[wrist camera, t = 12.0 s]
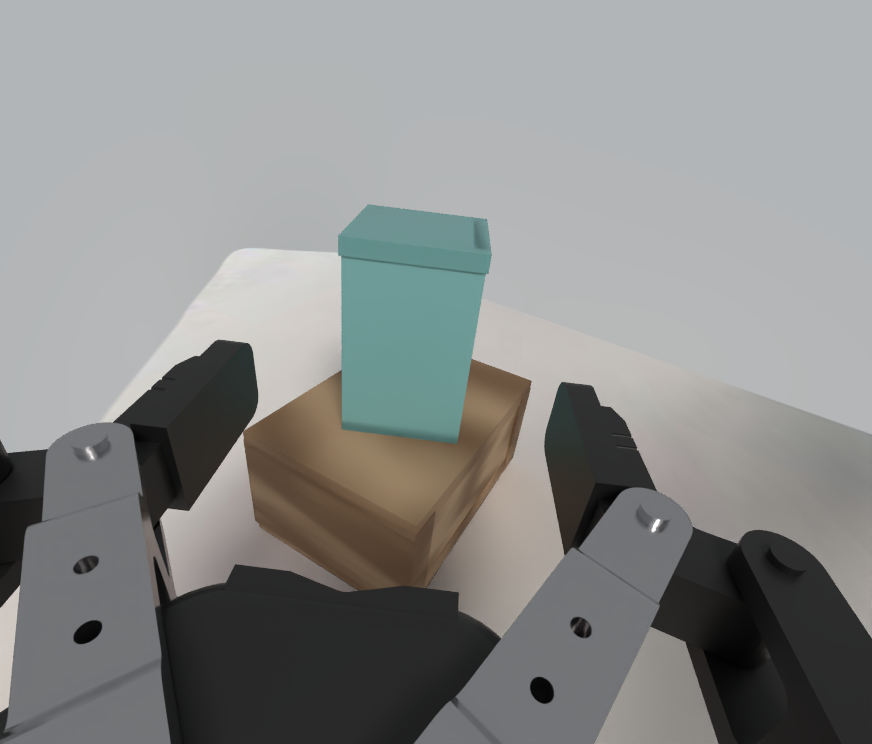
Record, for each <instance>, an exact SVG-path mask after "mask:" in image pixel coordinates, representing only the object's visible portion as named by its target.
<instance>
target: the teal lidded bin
mask: <svg viewBox="0 0 872 744" xmlns="http://www.w3.org/2000/svg"><path fill="white" fill-rule="evenodd" d="M338 246H339V247H338V255H339V256H341V280H342V430H350V431H358V432H366V433H374V434H382V435H390V436H398V437H406V438H414V439H422V440H430V441H438V442H446V443H454V444H457V441H458V436H459V430H460V424H461V418H462V412H463V406H464V400H465V394H466V388H467V382H468V376H469V370H470V364H471V358H472V352H473V346H474V340H475V334H476V328H477V322H478V316H479V310H480V304H481V298H482V292H483V286H484V280H485V275H486V274H488V273H489V266H490V261H491V247H490V239H489V231H488V223H487V219H480V218H473V217H464V216H456V215H448V214H440V213H432V212H424V211H416V210H408V209H399V208H391V207H384V206H376V205H367V206H366V207H365V208H364V209H363V210H362V211H361V213H360V214H359V215H358V216H357V217H356V218H355V219H354V220H353V221H352V222H351V223H350V224H349V225H348V226H347V227H346V228H345V229H344V230H343V231H342V233H341V234H340V235H339V236H338Z"/></svg>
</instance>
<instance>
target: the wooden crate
mask: <svg viewBox="0 0 872 744" xmlns="http://www.w3.org/2000/svg"><path fill="white" fill-rule="evenodd" d="M531 382H532V381H530V380H528V379H525V378H522V377H520V376H517V375H514V374H511V373H509V372H506V371H503V370H500V369H498V368H495V367H492V366H489V365H487V364H484V363H481V362H478V361H476V360H473V359H471V364H470V370H469V376H468V382H467V388H466V394H465V400H464V406H463V412H462V418H461V424H460V430H459V436H458V441H457V444H454V443H446V442H438V441H430V440H422V439H414V438H406V437H398V436H390V435H382V434H374V433H366V432H358V431H350V430H342V370H341V371H339V372H338V373H336V374H335V375H333V376H331V377H330V378H328V379H327V380H325V381H323V382H322V383H320V384H319V385H317V386H315V387H314V388H312V389H310V390H309V391H307V392H306V393H304V394H302V395H301V396H299V397H298V398H296V399H294V400H293V401H291V402H290V403H288V404H286V405H285V406H283V407H282V408H280V409H278V410H277V411H275V412H274V413H272V414H270V415H269V416H267V417H266V418H264V419H262V420H261V421H259V422H258V423H256V424H254V425H253V426H251V427H249V428H248V429H246V430H245V431H243V435H244V446H245V453H246V460H247V467H248V473H249V480H250V487H251V494H252V501H253V507H254V514H255V521H257V522H258V523H259V526H260V527H261V528H262V529H264V530H266V531H267V532H269V533H270V534H272V535H273V536H275V537H276V538H278V539H280V540H281V541H283V542H284V543H286V544H287V545H289V546H290V547H292V548H293V549H295V550H297V551H298V552H300V553H301V554H303V555H304V556H306V557H307V558H309V559H310V560H312V561H314V562H315V563H317V564H318V565H320V566H321V567H323V568H324V569H326V570H328V571H329V572H331V573H332V574H334V575H335V576H337V577H338V578H340V579H341V580H343V581H345V582H346V583H348V584H349V585H351V586H352V587H354V588H355V589H357V590H359V591H362V590H371V589H379V588H388V587H396V586H411V587H418V588H426V587H427V586H428V584H429V583H430V581H431V580H432V578H433V577H434V575H435V574H436V572H437V571H438V569H439V568H440V566H441V564H442V563H443V561H444V560H445V558H446V557H447V555H448V554H449V552H450V551H451V549H452V548H453V546H454V545H455V543H456V542H457V540H458V539H459V537H460V536H461V534H462V533H463V531H464V530H465V528H466V527H467V525H468V524H469V522H470V521H471V519H472V518H473V516H474V515H475V513H476V512H477V510H478V509H479V507H480V506H481V504H482V503H483V501H484V500H485V498H486V497H487V495H488V494H489V492H490V491H491V489H492V488H493V486H494V484H495V483H496V481H497V480H498V478H499V477H500V475H501V474H502V472H503V471H504V469H505V468H506V467H507V465H508V464H509V462H510V461H511V459H512V458H513V455H514V451H515V448H516V444H517V440H518V436H519V432H520V428H521V424H522V420H523V416H524V412H525V408H526V405H527V401H528V397H529V393H530V389H531V388H530V386H531Z"/></svg>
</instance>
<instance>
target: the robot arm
mask: <svg viewBox="0 0 872 744" xmlns="http://www.w3.org/2000/svg"><path fill="white" fill-rule="evenodd" d="M257 404H258V388H257V380H256V373H255V365H254V357H253V351H252V348H251V346H250V344H248V343H242V342H234V341H226V340H217V341H215V342H214V343H213V344H212V345H211V346H210V347H209V348H208V349H207V350H206V351H205V352H204V353H202V354H201V355H200V356H194V357H191V358H189V359H187V360H185V361H183V362H181V363H179V364H177V365H175V366H174V367H173V368H172V369H171V370H170V371H169V372H167V373H166V374H165V375H164V376H163V377H162V380H159V381H158V382H157V383H155V384H154V385H153V386H152V388H151V390H148V391H147V392H146V393H144V394H143V395H142V396H141V397H140V398H139V399H138V400H137V401H136V402H135V403H134V404H132V405H131V406H130V407H129V408H128V409H127V410H126V411H125V412H124V413H123V414H122V415H120V416H119V417H118V418H117V419H116V420H115V421H114V422H113V423H111V422H110V423H96V424H91V425H87V426H84V427H80V428H78V429H75V430H73V431H71V432H69V433H67V434H65V435H63V436H62V437H61V438H59V439H57V440H56V441H55V442H54V443H53V444H52V445H51V446H50V448H49V449H46V450H37V451H25V452H14V453H7V452H6V450H5V448H4V446H3V444H2V442H1V441H0V608H1V607H2V605H3V604H4V603H5V602H6V601H7V600H8V598H9V597H10V596H11V595H12V594H13V592H14V591H15V590H16V589H17V588H18V587H19V585H20V593H19V603H18V614H17V624H16V635H15V645H14V656H13V666H12V677H11V687H10V698H9V707H8V708H6V709H5V710H3V711H2V712H0V744H594V742H595V740H596V738H597V736H598V734H599V732H600V730H601V728H602V726H603V724H604V721H605V719H606V717H607V715H608V713H609V711H610V709H611V707H612V705H613V703H614V701H615V699H616V697H617V694H618V692H619V690H620V688H621V686H622V684H623V682H624V680H625V678H626V676H627V674H628V672H629V670H630V667H631V665H632V663H633V661H634V659H635V657H636V655H637V653H638V651H639V649H640V647H641V645H642V643H643V640H644V638H645V636H646V634H647V632H648V630H649V628H650V627H653V628H655V629H657V630H660V631H662V632H664V633H666V634H669V635H671V636H673V637H676V638H678V639H680V640H683V641H685V642H686V645H687V648H688V651H689V654H690V657H691V660H692V664H693V667H694V670H695V673H696V676H697V679H698V682H699V685H700V688H701V691H702V694H703V697H704V700H705V703H706V706H707V709H708V713H709V716H710V719H711V722H712V725H713V728H714V731H715V734H716V737H717V740H718V743H719V744H872V638H871V637H870V635H869V634H868V632H867V631H866V629H865V628H864V626H863V625H862V623H861V622H860V620H859V619H858V617H857V616H856V614H855V613H854V611H853V610H852V608H851V607H850V606H849V604H848V603H847V601H846V600H845V598H844V597H843V595H842V594H841V592H840V591H839V589H838V588H837V586H836V585H835V583H834V582H833V580H832V579H831V577H830V576H829V574H828V573H827V571H826V570H825V568H824V567H823V566H822V564H821V563H820V562H819V561H818V560H817V559H816V558H815V557H814V556H813V555H812V554H811V553H810V552H808V551H807V550H806V549H804V548H803V547H802V546H800V545H799V544H797V543H796V542H794V541H792V540H790V539H788V538H786V537H784V536H782V535H779V534H776V533H773V532H769V531H764V530H753V531H749V532H747V533H745V534H744V536H743V537H742V538H741V540H740V541H739V543H738V544H736V543H733V542H731V541H728V540H725V539H722V538H720V537H717V536H714V535H711V534H709V533H706V532H703V531H701V530H698V529H696V528H694V527H692V523H691V520H690V518H689V517H688V515H687V514H686V512H685V511H684V510H683V509H682V508H681V507H680V506H679V505H678V504H677V503H676V502H674V501H673V500H672V499H670V498H669V497H667V496H665V495H663V494H661V493H659V492H657V490H656V488H655V486H654V484H653V482H652V479H651V477H650V475H649V473H648V471H647V468H646V466H645V464H644V462H643V460H642V458H641V455H640V453H639V451H637V447H636V444H635V442H634V440H633V438H631V433H630V431H629V429H628V427H627V425H626V422H625V421H624V420H623V419H622V418H621V417H620V416H619V415H618V414H617V413H616V412H615V411H614V410H613V409H612V408H611V407H604V406H601V405H600V403H599V400H598V398H597V395H596V393H595V390H594V388H593V387H592V386H591V385H583V384H574V383H566V382H562V383H561V384H560V386H559V388H558V391H557V394H556V398H555V401H554V405H553V408H552V412H551V415H550V419H549V422H548V426H547V429H546V434H545V445H544V447H545V456H546V461H547V467H548V472H549V477H550V482H551V487H552V492H553V497H554V502H555V508H556V513H557V518H558V523H559V528H560V533H561V538H562V544H563V549H564V554H565V557H564V558H563V559H562V560H561V562H560V563H559V564H558V566H557V567H556V568H555V570H554V571H553V572H552V573H551V575H550V576H549V577H548V579H547V580H546V581H545V583H544V584H543V585H542V586H541V588H540V589H539V590H538V592H537V593H536V594H535V596H534V597H533V598H532V600H531V601H530V602H529V603H528V605H527V606H526V607H525V609H524V610H523V611H522V613H521V614H520V615H519V616H518V618H517V619H516V620H515V622H514V623H513V624H512V626H511V627H510V628H509V629H508V631H507V632H506V633H505V635H504V636H503V637H502V639H501V638H500V637H499V636H498V635H497V634H496V633H495V632H493V631H492V630H491V629H490V628H488V627H487V626H485V625H484V624H483V623H481V622H480V621H478V620H476V619H474V618H472V617H471V616H469V615H467V614H465V613H462V612H460V611H458V597H459V593H458V592H450V591H442V590H434V589H426V588H418V587H411V586H396V587H388V588H379V589H371V590H362V591H354V592H341V591H337V590H335V589H333V588H330V587H328V586H325V585H323V584H320V583H318V582H315V581H313V580H310V579H308V578H305V577H303V576H300V575H298V574H295V573H293V572H290V571H284V570H276V569H268V568H260V567H252V566H244V565H236V564H235V566H234V568H233V570H232V572H231V574H230V576H229V578H228V580H227V582H226V583H220V584H215V585H211V586H206V587H203V588H200V589H197V590H194V591H191V592H188V593H186V594H184V595H181V596H179V597H176V593H175V588H174V583H173V578H172V572H171V567H170V562H169V556H168V551H167V546H166V541H165V535H164V530H163V526H162V522H161V519H160V518H161V517H162V515H163V514H164V512H165V511H166V510H167V508H170V509H178V510H186V511H189V510H190V508H191V507H192V506H193V504H194V503H195V501H196V500H197V498H198V497H199V495H200V494H201V492H202V491H203V489H204V488H205V486H206V485H207V484H208V482H209V481H210V479H211V478H212V476H213V475H214V473H215V472H216V470H217V469H218V467H219V466H220V464H221V463H222V462H223V460H224V459H225V457H226V456H227V454H228V453H229V451H230V450H231V448H232V447H233V445H234V444H235V442H236V441H237V440H238V438H239V437H240V435H241V434H242V432H243V431H244V429H245V428H246V426H247V425H248V423H249V422H250V420H251V419H252V418H253V416H254V414H255V411H256V408H257Z"/></svg>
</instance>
